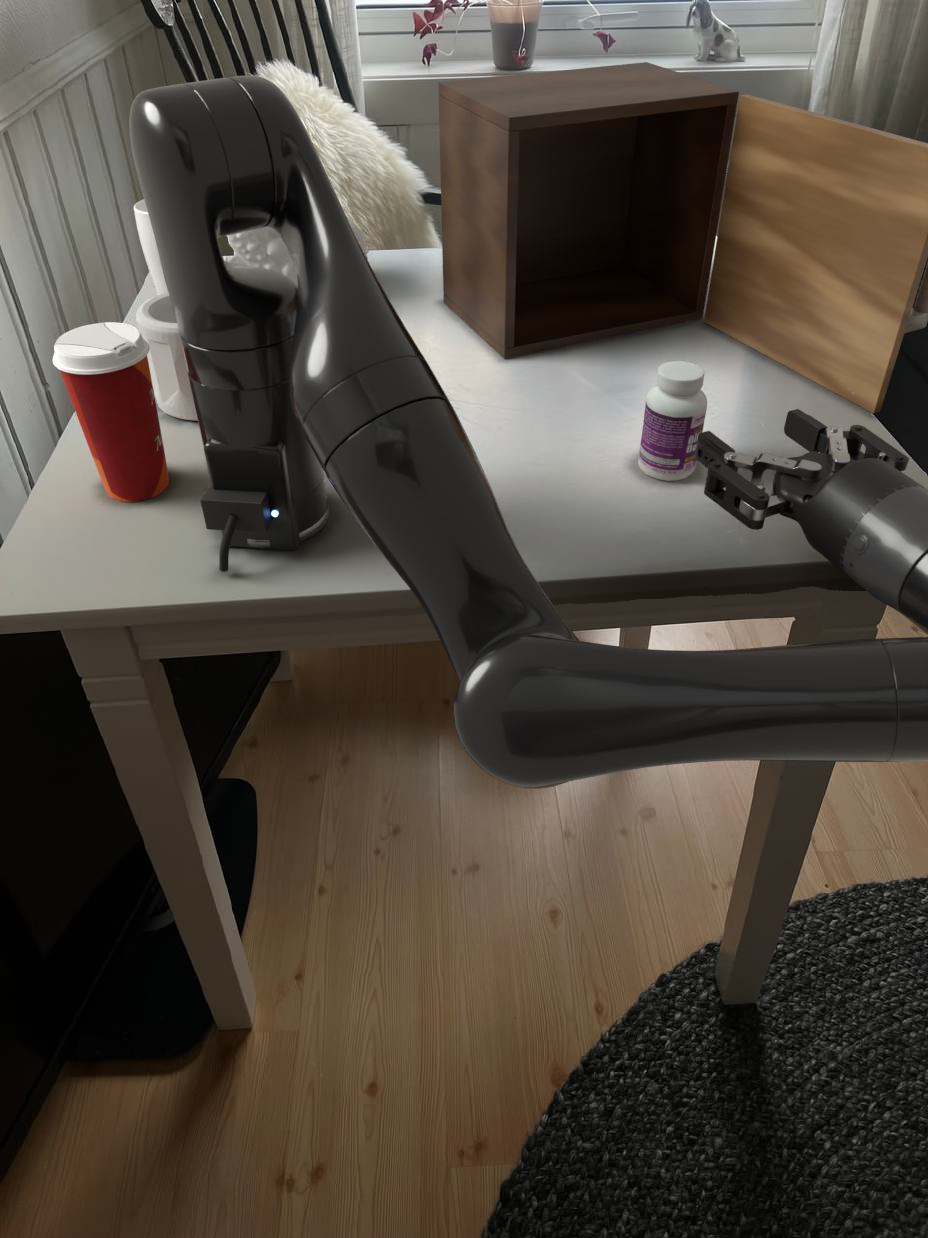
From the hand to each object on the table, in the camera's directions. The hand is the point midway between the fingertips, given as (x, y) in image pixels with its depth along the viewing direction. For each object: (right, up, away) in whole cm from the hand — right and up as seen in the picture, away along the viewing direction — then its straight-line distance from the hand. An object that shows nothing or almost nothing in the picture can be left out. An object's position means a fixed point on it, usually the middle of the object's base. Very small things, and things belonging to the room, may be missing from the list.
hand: (745, 430), depth 74 cm
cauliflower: (-45, +28, +47) cm, 71 cm away
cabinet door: (+15, +14, +29) cm, 36 cm away
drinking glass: (-54, +18, +36) cm, 68 cm away
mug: (-50, +9, +24) cm, 56 cm away
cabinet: (-9, +23, +40) cm, 47 cm away
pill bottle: (-4, -1, +12) cm, 13 cm away
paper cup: (-52, -3, +11) cm, 53 cm away
